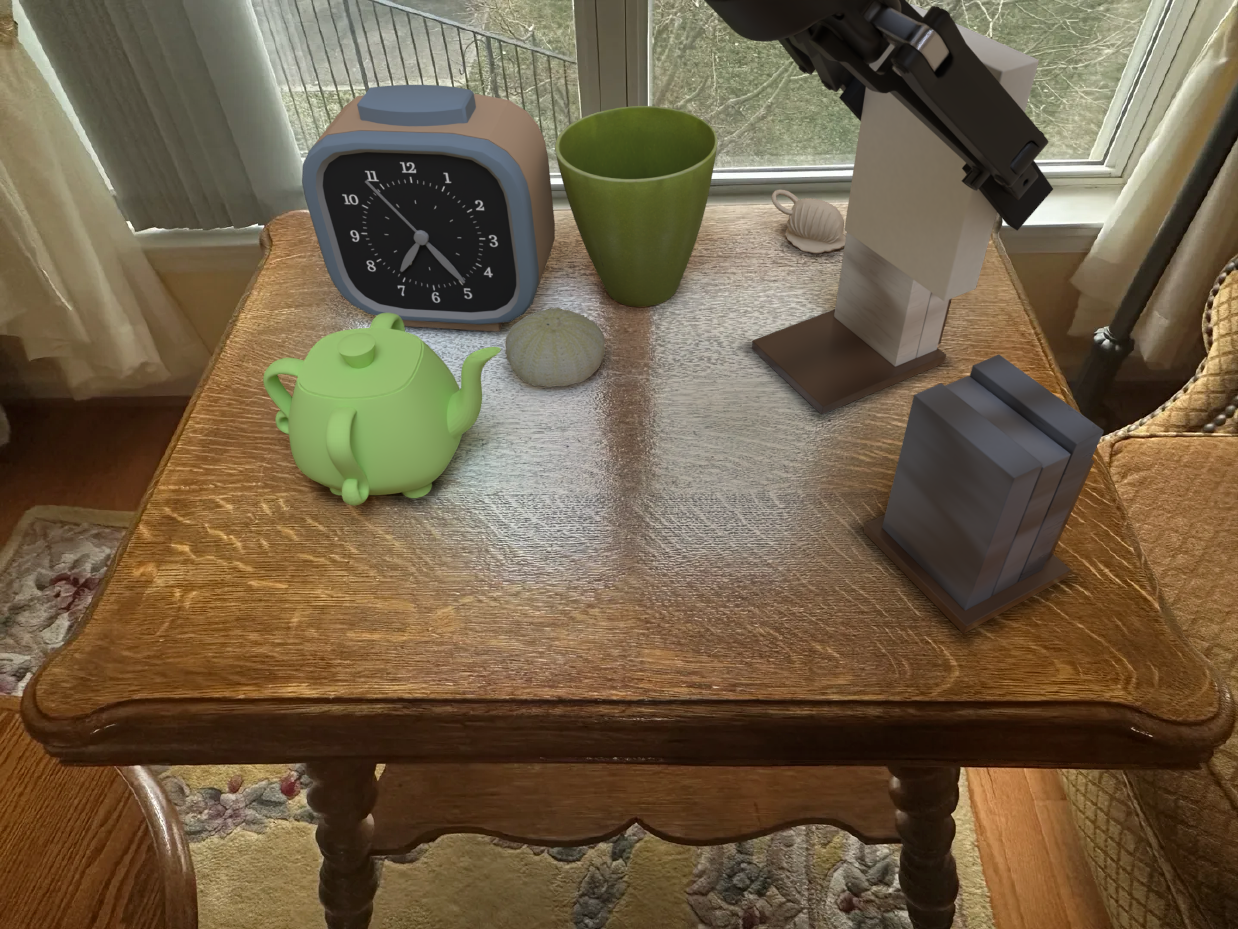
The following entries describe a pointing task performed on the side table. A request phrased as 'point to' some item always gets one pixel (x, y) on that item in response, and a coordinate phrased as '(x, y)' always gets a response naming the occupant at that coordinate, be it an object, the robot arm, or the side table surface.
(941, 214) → the white book
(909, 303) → the beige and brown bookend
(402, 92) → the alarm clock
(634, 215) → the flower pot
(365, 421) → the teapot
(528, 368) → the sea urchin shell
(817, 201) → the decorative ornament
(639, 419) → the side table surface
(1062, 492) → the grey rack
